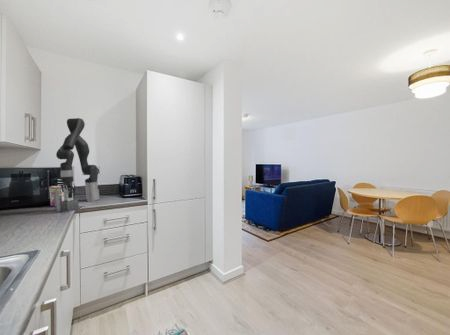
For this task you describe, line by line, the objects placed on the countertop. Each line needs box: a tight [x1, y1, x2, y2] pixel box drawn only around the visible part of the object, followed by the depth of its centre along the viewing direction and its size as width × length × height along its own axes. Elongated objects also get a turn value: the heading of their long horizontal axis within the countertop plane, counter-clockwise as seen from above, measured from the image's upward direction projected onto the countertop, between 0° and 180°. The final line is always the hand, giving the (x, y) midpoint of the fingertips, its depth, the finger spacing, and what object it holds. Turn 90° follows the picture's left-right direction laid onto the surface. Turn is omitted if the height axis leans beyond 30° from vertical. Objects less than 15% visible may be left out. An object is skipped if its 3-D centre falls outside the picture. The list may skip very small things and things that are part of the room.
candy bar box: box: [48, 185, 64, 207], centre depth 164 cm, size 11×5×16 cm, turn 84°
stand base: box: [53, 198, 86, 214], centre depth 153 cm, size 14×14×7 cm
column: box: [63, 188, 74, 202], centre depth 152 cm, size 5×4×16 cm
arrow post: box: [54, 191, 62, 214], centre depth 146 cm, size 4×2×16 cm, turn 160°
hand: (68, 197), depth 152 cm, fingers closed on column, 4 cm apart
